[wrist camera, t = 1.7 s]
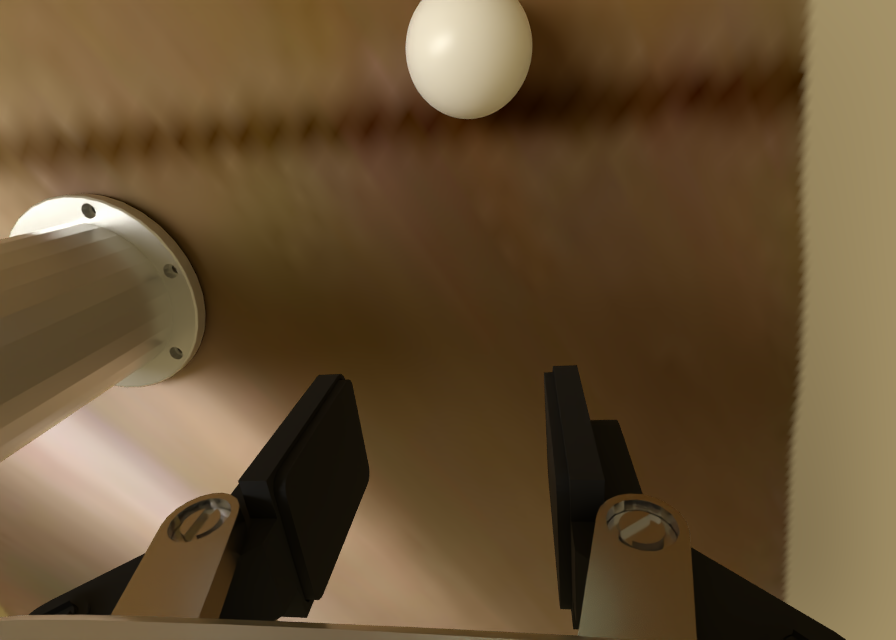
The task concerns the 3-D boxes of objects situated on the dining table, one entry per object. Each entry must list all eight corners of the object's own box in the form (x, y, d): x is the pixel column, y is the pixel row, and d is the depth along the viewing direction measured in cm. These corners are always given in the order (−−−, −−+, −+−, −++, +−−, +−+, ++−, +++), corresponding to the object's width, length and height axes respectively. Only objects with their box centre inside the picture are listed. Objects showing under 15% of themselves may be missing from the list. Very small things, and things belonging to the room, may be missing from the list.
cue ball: (442, 135, 26) (424, 140, 21) (400, 22, 24) (370, -3, 19) (545, 92, 25) (552, 87, 20) (509, -31, 23) (507, -72, 18)
